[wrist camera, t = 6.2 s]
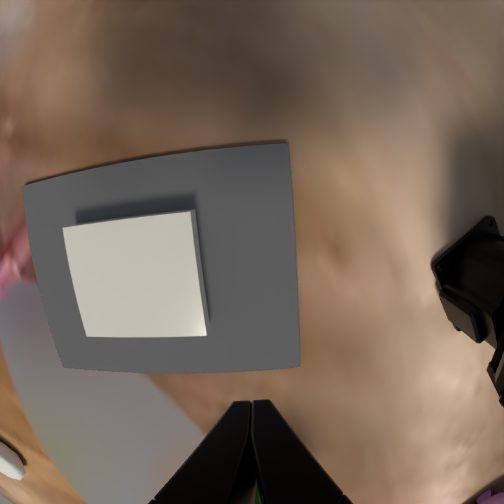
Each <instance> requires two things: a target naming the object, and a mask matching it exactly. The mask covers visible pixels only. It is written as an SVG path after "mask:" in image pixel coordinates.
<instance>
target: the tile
mask: <svg viewBox="0 0 504 504" xmlns="http://www.w3.org/2000/svg"><path fill="white" fill-rule="evenodd" d="M63 234H64V240H65V246H66V252H67V257H68V263H69V268H70V272H71V277H72V282H73V286H74V290H75V295H76V299H77V303H78V307H79V311H80V314H81V318H82V322H83V325H84V329H85V332H86V336H87V337H187V336H207V334H208V330H209V327H210V322H209V315H208V309H207V301H206V294H205V287H204V279H203V272H202V264H201V256H200V248H199V239H198V230H197V221H196V212H195V209H191V210H182V211H173V212H164V213H155V214H147V215H139V216H131V217H123V218H116V219H108V220H101V221H94V222H87V223H80V224H74V225H70V226H67V227H64V228H63Z"/></svg>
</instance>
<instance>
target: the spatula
mask: <svg viewBox="0 0 504 504" xmlns="http://www.w3.org/2000/svg"><path fill="white" fill-rule="evenodd" d="M0 472H2V473H3V474H5V475H7V476H9V477H11V478H13V479H17V480H21V479H22V478H23V476H24V475H25V473H26V471H25V468H24V466H23V464H22V461H21V460H20V458H19V456H18V455H17V454H16V453H15V452H14V451H12V450H11V449H10V448H9V447H8V446H7V445H5V444H4V443H2V442H0Z"/></svg>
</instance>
